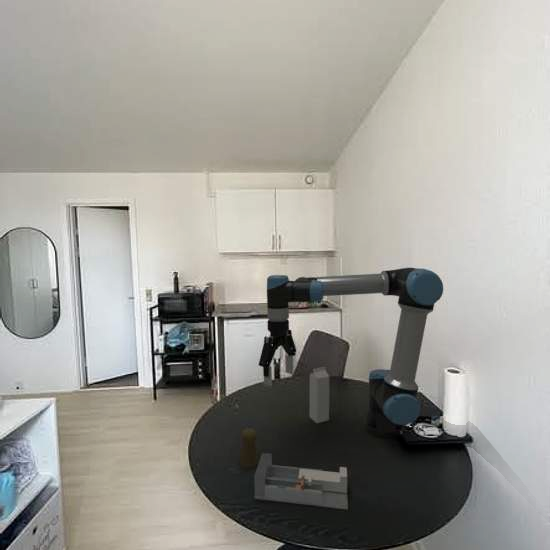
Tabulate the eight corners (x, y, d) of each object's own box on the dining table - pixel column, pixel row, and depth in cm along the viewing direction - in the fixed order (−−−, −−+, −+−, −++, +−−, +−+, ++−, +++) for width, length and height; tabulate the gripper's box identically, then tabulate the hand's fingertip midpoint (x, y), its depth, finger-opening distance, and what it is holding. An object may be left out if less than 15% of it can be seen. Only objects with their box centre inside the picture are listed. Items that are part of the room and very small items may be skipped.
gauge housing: (346, 482, 104) (346, 460, 104) (347, 509, 94) (347, 485, 93) (262, 474, 109) (262, 452, 108) (254, 498, 98) (254, 475, 97)
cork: (244, 470, 111) (244, 437, 110) (237, 460, 116) (237, 428, 115) (261, 464, 114) (261, 432, 113) (253, 455, 119) (253, 424, 118)
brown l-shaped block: (304, 492, 99) (304, 475, 98) (303, 502, 94) (303, 484, 94) (296, 491, 99) (296, 474, 99) (294, 501, 95) (294, 483, 95)
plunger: (346, 482, 103) (346, 467, 102) (347, 500, 95) (347, 483, 95) (299, 478, 105) (299, 463, 105) (297, 494, 98) (297, 478, 97)
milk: (309, 417, 146) (309, 366, 144) (321, 414, 148) (321, 364, 147) (317, 423, 140) (317, 371, 139) (329, 420, 143) (329, 368, 142)
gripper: (288, 312, 132) (288, 366, 134) (247, 324, 112) (248, 388, 113) (305, 314, 128) (305, 370, 129) (265, 327, 107) (267, 393, 109)
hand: (279, 379), depth 121 cm, fingers open, 13 cm apart
